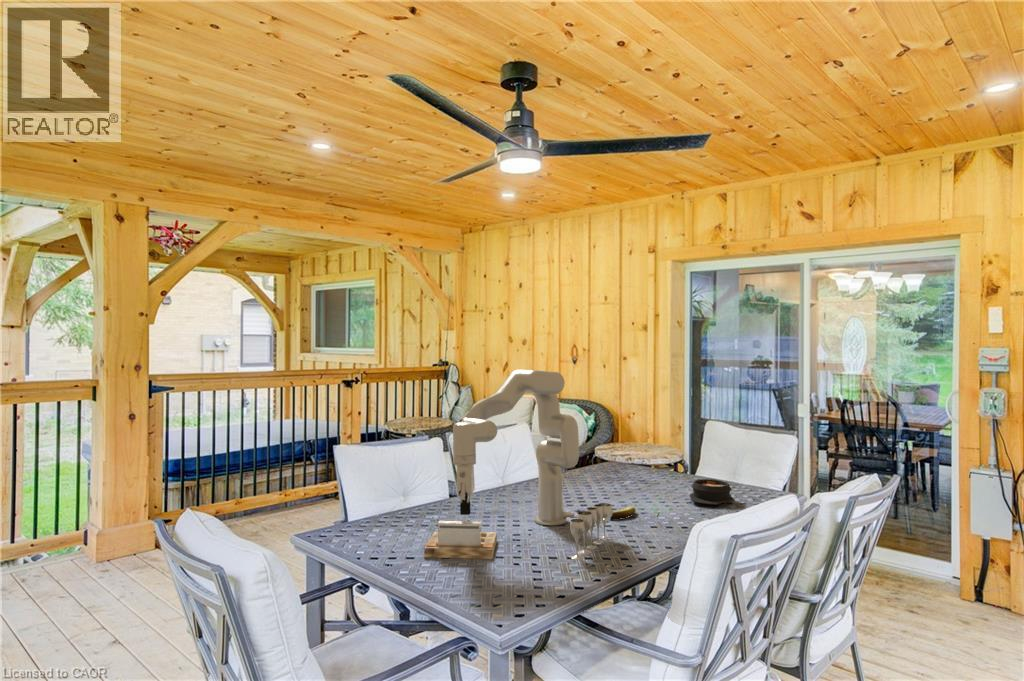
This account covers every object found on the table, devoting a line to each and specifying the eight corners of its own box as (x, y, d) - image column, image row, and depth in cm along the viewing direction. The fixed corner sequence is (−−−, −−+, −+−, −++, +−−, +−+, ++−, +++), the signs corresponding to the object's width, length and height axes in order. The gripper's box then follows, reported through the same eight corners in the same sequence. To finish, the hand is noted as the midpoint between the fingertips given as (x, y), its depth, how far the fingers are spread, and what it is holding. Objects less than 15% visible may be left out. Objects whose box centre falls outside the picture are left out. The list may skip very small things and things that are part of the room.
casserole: (699, 493, 278) (699, 475, 279) (740, 499, 268) (740, 480, 268) (680, 504, 258) (680, 485, 258) (724, 511, 247) (724, 491, 247)
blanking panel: (481, 550, 195) (481, 521, 195) (480, 553, 193) (480, 524, 193) (439, 549, 196) (439, 520, 196) (437, 552, 194) (437, 523, 194)
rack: (496, 540, 208) (496, 531, 208) (491, 559, 190) (491, 548, 190) (435, 539, 210) (435, 530, 210) (424, 557, 192) (424, 547, 192)
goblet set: (582, 561, 189) (582, 519, 189) (565, 557, 192) (566, 516, 192) (615, 537, 213) (615, 500, 213) (600, 534, 216) (600, 498, 216)
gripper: (473, 464, 190) (473, 521, 190) (478, 454, 205) (479, 507, 205) (450, 464, 190) (450, 521, 191) (456, 454, 205) (457, 507, 206)
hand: (465, 513), depth 198 cm, fingers closed
